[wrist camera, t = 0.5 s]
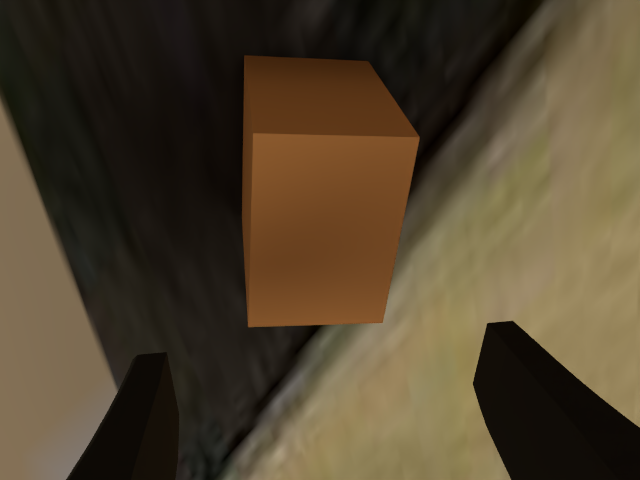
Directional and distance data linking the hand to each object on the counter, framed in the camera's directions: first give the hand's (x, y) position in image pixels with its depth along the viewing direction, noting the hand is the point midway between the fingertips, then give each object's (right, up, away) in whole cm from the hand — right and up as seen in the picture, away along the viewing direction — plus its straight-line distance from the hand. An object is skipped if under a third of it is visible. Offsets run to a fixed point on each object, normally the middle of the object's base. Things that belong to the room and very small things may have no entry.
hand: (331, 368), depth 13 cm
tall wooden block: (-1, +6, +7) cm, 10 cm away
